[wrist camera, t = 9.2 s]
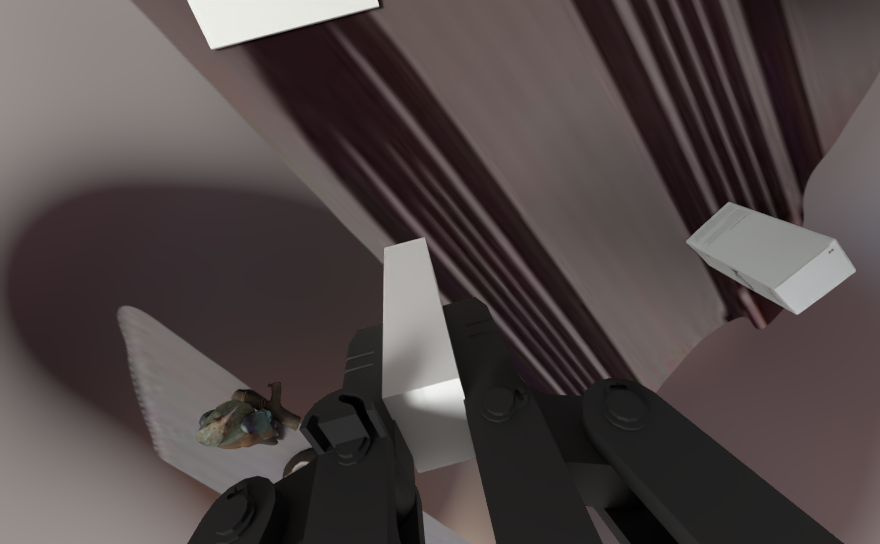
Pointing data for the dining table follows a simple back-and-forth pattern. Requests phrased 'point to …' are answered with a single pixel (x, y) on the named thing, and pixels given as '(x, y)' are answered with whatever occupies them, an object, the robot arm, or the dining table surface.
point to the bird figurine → (245, 421)
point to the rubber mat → (266, 17)
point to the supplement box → (772, 256)
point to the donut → (299, 461)
